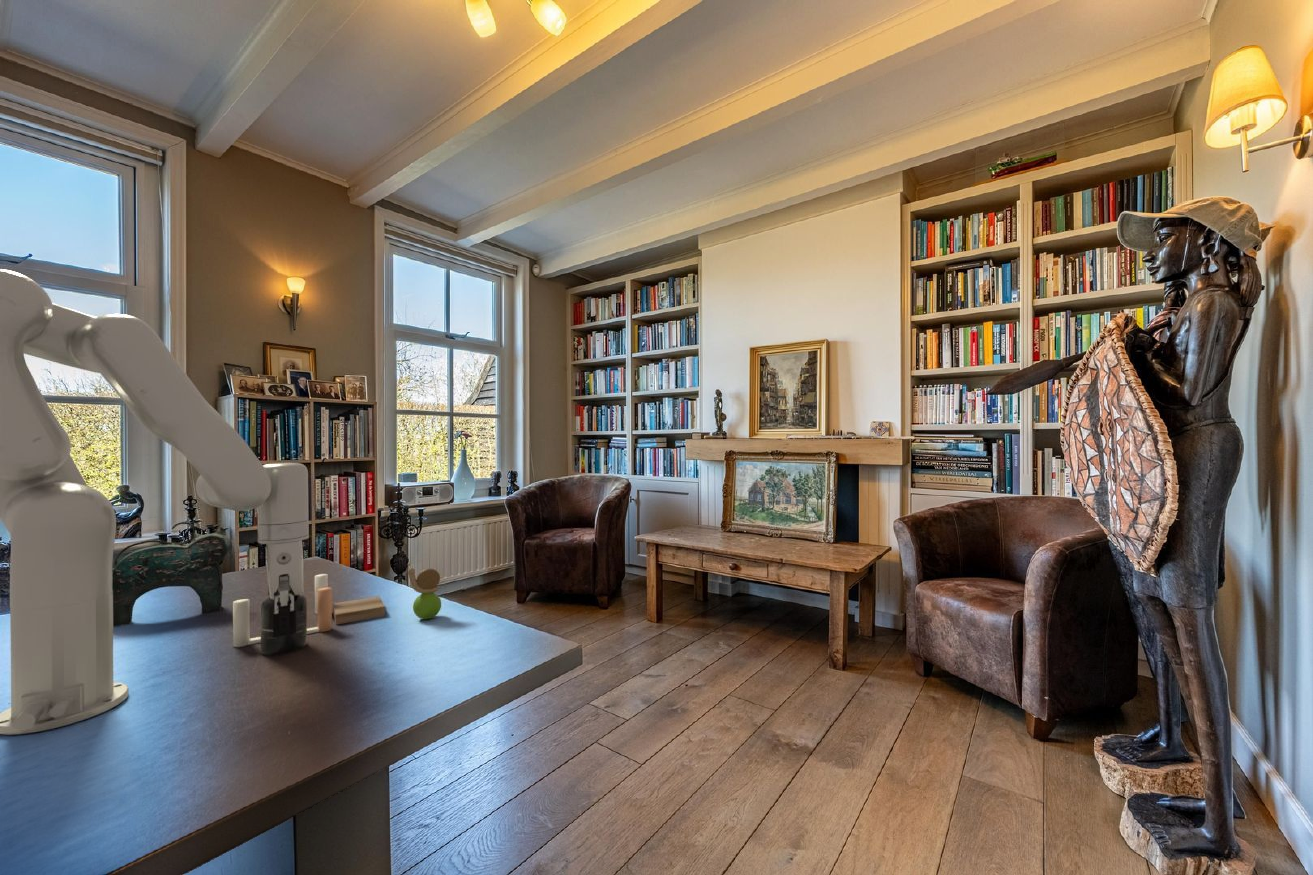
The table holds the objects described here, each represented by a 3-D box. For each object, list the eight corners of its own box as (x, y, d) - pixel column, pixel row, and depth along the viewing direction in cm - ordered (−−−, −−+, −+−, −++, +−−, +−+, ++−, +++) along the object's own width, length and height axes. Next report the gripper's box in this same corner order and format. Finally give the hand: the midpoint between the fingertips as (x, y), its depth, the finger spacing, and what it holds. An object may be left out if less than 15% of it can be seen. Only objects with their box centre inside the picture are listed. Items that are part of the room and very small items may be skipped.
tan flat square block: (385, 615, 113) (385, 606, 113) (335, 624, 108) (335, 614, 108) (379, 605, 120) (379, 596, 120) (332, 612, 115) (332, 603, 115)
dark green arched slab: (231, 603, 122) (231, 517, 122) (230, 611, 117) (229, 520, 117) (109, 622, 110) (108, 526, 110) (101, 631, 105) (100, 530, 105)
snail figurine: (407, 617, 112) (407, 560, 112) (440, 612, 115) (440, 557, 115) (407, 625, 107) (407, 565, 107) (442, 620, 110) (441, 562, 110)
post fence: (332, 629, 105) (332, 589, 105) (232, 648, 96) (232, 603, 96) (327, 609, 117) (327, 573, 117) (239, 623, 109) (238, 584, 109)
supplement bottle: (253, 658, 91) (252, 588, 91) (270, 643, 98) (270, 578, 98) (299, 653, 93) (298, 585, 93) (312, 639, 100) (312, 575, 100)
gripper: (310, 536, 91) (311, 636, 91) (307, 523, 105) (308, 610, 105) (255, 541, 86) (256, 647, 86) (259, 527, 100) (260, 617, 101)
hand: (284, 626), depth 96 cm, fingers open, 9 cm apart
